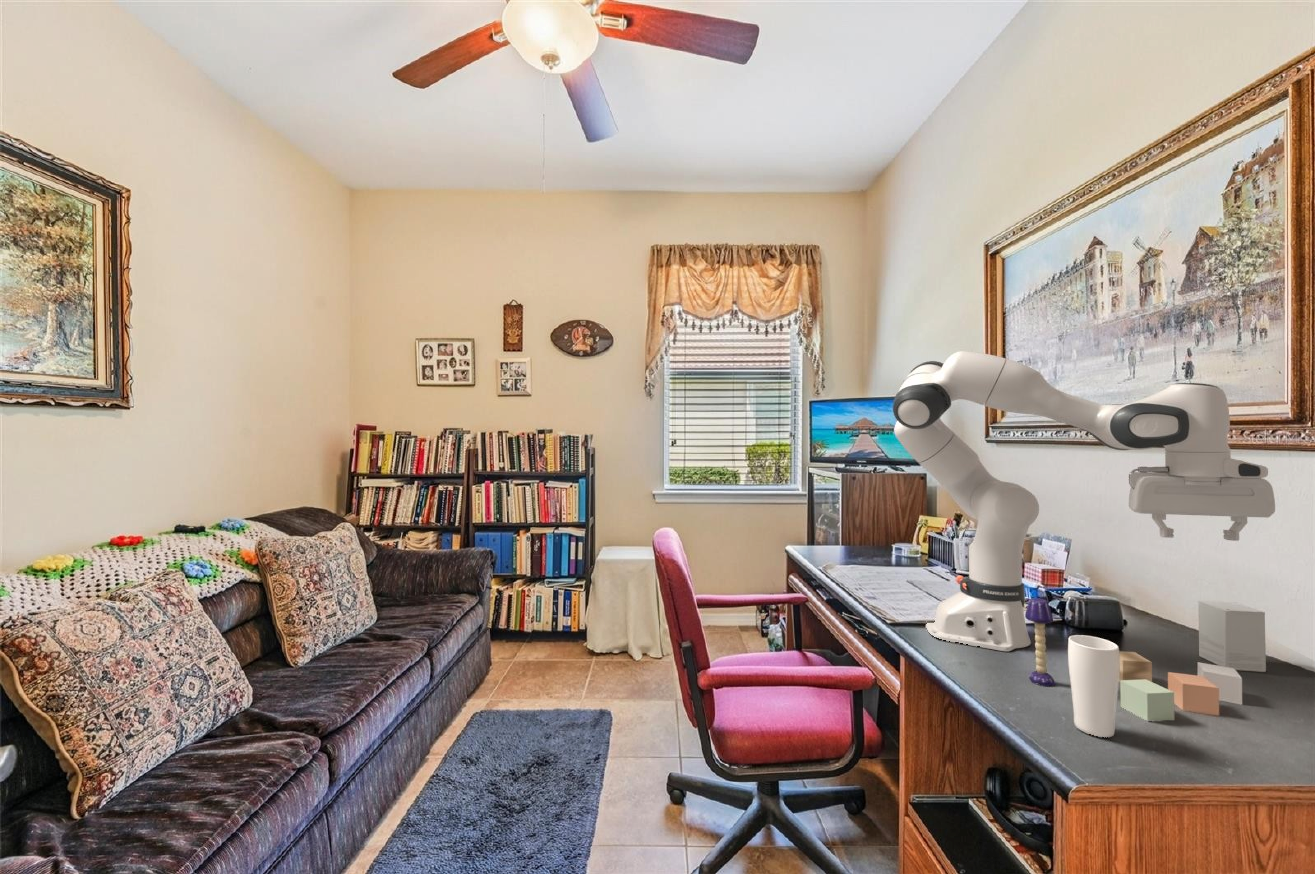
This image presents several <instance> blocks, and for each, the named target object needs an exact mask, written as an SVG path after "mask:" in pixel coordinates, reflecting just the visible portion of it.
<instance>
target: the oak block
mask: <svg viewBox="0 0 1315 874" xmlns="http://www.w3.org/2000/svg"><path fill="white" fill-rule="evenodd" d="M1119 658H1120V672H1119V683H1120V680H1142V679H1146V680H1148V681H1151V682H1153V662H1152V661H1150V660H1149V659H1147V658H1145V657H1143V656H1142V655H1140V654H1138V653H1137V652H1136V651H1121V650H1119Z"/></svg>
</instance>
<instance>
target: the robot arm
mask: <svg viewBox="0 0 1315 874" xmlns="http://www.w3.org/2000/svg"><path fill="white" fill-rule="evenodd" d="M956 400H966V401H970V402H973V403H975V404H979V405H982V406H984V407H987V408H991V409H994V410H999V411H1002V412H1008V413H1013V414H1021V415H1033V416H1040V417H1043V418H1044V417H1045V418H1048V419H1050V420H1054V421H1057V422H1060V423H1063V424H1065V425H1069V426H1072V427H1074V428H1077V429H1080V430H1083V431H1085V432H1087V433H1088V434H1090V435H1091V436H1092V437H1093V438H1094V439H1095V440H1097V442H1099V443H1100V444H1102V445H1104V446H1105V447H1108V448H1110V449H1113V450H1117V451H1130V450H1131V451H1133V450H1135V451H1143V450H1150V449H1154V448H1158V447H1164V452H1165V453H1164V454H1165V456H1164V457H1165V458H1164V459H1165V462H1164V463H1165V466H1137V468H1135V469H1132V470H1131V471H1130V472H1129V474H1128V484H1129V487H1130V490H1129V495H1128V507H1129V509H1130V510H1131V511H1132V512H1134V513H1137V514H1142V515H1145V514H1146V515H1147V514H1149V515H1151V519H1152V520H1153V521H1154V523H1155V524H1156V525H1157V527H1158V528H1159V536H1160V537H1162V538H1171V539H1172V538H1173V539H1174V532H1175V530H1174V528H1171V527H1168V526H1167V524H1166V523H1165V522H1164V521H1166V520H1167V515H1172V516H1173V515H1175V516H1180V515H1181V516H1204V517H1205V516H1210V517H1230V521H1231V522H1233V523H1232V525H1231V526H1230V527H1229V529H1223V531H1222V532H1223V539H1224V540H1226V541H1235V542H1239V541H1240V533H1241V532H1242V530H1243V529H1244V527H1246V525H1247V524H1248V518H1270V517H1271V516H1272V515H1274V514H1275V512H1276V501H1275V493H1274V490H1273V489H1274V488H1273V486H1272V484H1271V483H1270V482H1269V481H1268V479H1265V478H1267V477H1268V476H1269V468H1268V467H1267V466H1265V465H1262V464H1261V465H1260V464H1256V463H1252V462H1248V461H1244V460H1240V459H1235V458H1232V457H1231V456H1232V455H1231V448H1230V446H1229V443H1228V436H1229V432H1230V430H1231V421H1230V420H1231V419H1230V409H1229V402H1228V399H1227V395H1226V393H1225V391H1224V390H1223V389H1222V388H1220V387H1219V386H1216V385H1214V384H1207V383H1199V382H1178V383H1172V384H1170V385H1169V386H1168V387H1166V388H1164V389H1163V390H1161V391H1158V392H1156V393H1153V394H1151V395H1148V396H1147V397H1144V398H1141V399H1138V400H1134V401H1131V402H1128V403H1116V404H1104V403H1098V402H1095V401H1091V400H1088V399H1085V398H1083V397H1079V396H1076V395H1073V394H1070V393H1067V392H1065V391H1061V390H1060V389H1057V388H1055V387H1054V386H1052V385H1051V384H1050V383H1049V382H1048V381H1047V380H1046V379H1045V377H1044V376H1043V374H1041V372H1039V371H1038V370H1036V369H1034V368H1032V367H1030V366H1028V365H1026V364H1023V363H1021V362H1018V361H1015V360H1012V359H1009V358H1005V357H1001V356H997V355H994V354H990V353H989V354H988V353H984V352H983V353H982V352H976V351H969V350H968V351H967V350H960V351H956V352H954V353H952V354H951V355H950V356H948V358H947V359H946V360H945V361H944V363H943V362H941V361H936V360H929V361H925V362H922V363H920V364H917V365H916V366H915V367H914V368H913V369H912V370H911V371H910V372H909V374H908V375H907V376H906V377H905V378H904V380H903V381H902V383H901V384H900V387H899V389H898V392H897V393H896V395H895V396H894V399H893V403H892V411H893V415H894V418H895V419H896V422H895V425H894V428H893V432H894V435H895V437H896V439H897V440H898V442H899V443H900V444H901V445H902V447H903V448H904V449H905V450H906V452H907V453H908V454H909V455H910V456H911V457H912V458H913V459H914V460H915V461H916V462H917V463H918V464H919V466H921V467H922V468H923V469H925V471H927V472H928V473H929V474H930V475H931V476H932V478H934V479H935V480H936V481H937V482H938V483H939V484H940V485H941V486H942V488H943V489H944V490H945V492H947V494H948V495H949V496H950V497H951V499H952V500H953V501H954V502H955V503H956V504H957V505H958V507H959V508H960V510H962V511H963V512H964V513H965V515H967V516H968V517H970V518H972V519H974V520H977V527H976V531H975V535H974V537H973V541H972V542H971V543H970V544H969V545H968V546H969V547H968V576H967V577H964V576H963V575H957V576H955V581H956V582H957V584H958V585H959V589H960V590H959V591H958V592H957V593H955V594H953V595H951V596H950V597H949V596H948V597H947V598H945V599H944V600H942V601H941V602H939V604H938V605H937V608H936V611H935V616H934V618H935V622H934V623H927V624H926V623H925V629H926V628H927V630H928V632H929V633H930V634H931V635H933V636H934V637H937V638H939V639H942V640H941V641H943V640H946V641H945V642H949V641H950V642H949V643H955V642H959V643H958V644H960V643H963V644H962V645H966V644H968V645H967V646H973V647H977V646H980V647H979V648H984V649H989V650H990V649H991V650H994V651H995V650H996V651H1000V652H1001V651H1002V652H1010V651H1013V650H1015V649H1022V648H1026V647H1028V646H1030V645H1031V643H1032V641H1031V639H1030V636H1029V633H1028V629H1027V625H1026V620H1025V619H1026V617H1025V613H1024V607H1025V603H1026V589H1025V584H1024V583H1023V550H1024V544H1025V540H1026V536H1027V535H1028V531H1029V528H1030V526H1031V525H1032V524H1033V523H1034V522H1035V521H1036V520H1037V518H1038V516H1039V513H1040V505H1039V504H1040V503H1039V501H1038V498H1037V497H1036V496H1035V495H1034V494H1033V493H1032V492H1031V491H1029V490H1028V489H1026V488H1024V487H1023V486H1022V485H1019V484H1018V483H1015V482H1010V481H1001V480H999V479H997V478H996V477H994V476H993V475H992V474H990V472H989V471H988V470H987V469H986V467H985V466H984V464H983V463H982V462H981V461H980V458H979V455H978V453H977V452H975V450H973V449H972V448H971V447H970V446H969V445H968V444H967V443H966V442H964V441H963V439H961V438H960V436H958V435H957V434H956V432H954V431H953V430H952V429H951V428H949V427H948V426H947V425H946V424H945V423H944V422H943V421H942V419H941V417H942V416H943V415H944V413H946V412H947V411H948V410H949V409H950V408H951V406H952V402H954V401H956ZM927 630H926V631H927ZM928 632H927V633H928ZM929 633H928V634H929ZM930 634H929V635H930ZM931 635H930V636H931ZM934 637H933V638H934Z"/></svg>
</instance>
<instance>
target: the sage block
mask: <svg viewBox="0 0 1315 874" xmlns="http://www.w3.org/2000/svg"><path fill="white" fill-rule="evenodd" d="M1119 683H1120V684H1119V686H1120V688H1119V689H1120V708H1121V707H1122V709H1123V708H1124V710H1125V709H1126V710H1125V711H1127V712H1129V711H1130V712H1129V713H1131V712H1132V713H1133V715H1134V714H1135V716H1136V717H1138V716H1139V717H1138V718H1140V717H1141V718H1140V719H1142V720H1143V719H1144V721H1145V720H1147V721H1152V720H1154V721H1152V722H1157V721H1156V720H1174V721H1175V704H1174V692H1172V691H1170V690H1168V688H1165V687H1163V686H1161V685H1159V684H1158V683H1154V682H1153V681H1152V682H1151V681H1148V680H1146V679H1142V680H1120V682H1119ZM1132 713H1131V714H1132ZM1147 721H1146V722H1147Z"/></svg>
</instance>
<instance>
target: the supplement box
mask: <svg viewBox="0 0 1315 874" xmlns="http://www.w3.org/2000/svg"><path fill="white" fill-rule="evenodd" d="M1197 603H1198V609H1197V610H1198V648H1199V649H1198V650H1199V651H1198V655H1199V657H1201V658H1203V659H1205V660H1207V661H1209V662H1210V663H1213V664H1214V665H1217V666H1223V667H1229V668H1234V669H1235V670H1236V671H1242V672H1243V671H1245V672H1259V673H1266V671H1267V666H1266V665H1267V664H1266V662H1267V655H1266V653H1267V652H1266V648H1267V647H1266V615H1265V614H1266V613H1265V611H1262V610H1259V609H1257V608H1253V607H1250V606H1247V605H1244V604H1241V603H1238V602H1234V601H1213V600H1212V601H1211V600H1210V601H1209V600H1208V601H1207V600H1202V601H1201V600H1198V602H1197Z"/></svg>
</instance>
